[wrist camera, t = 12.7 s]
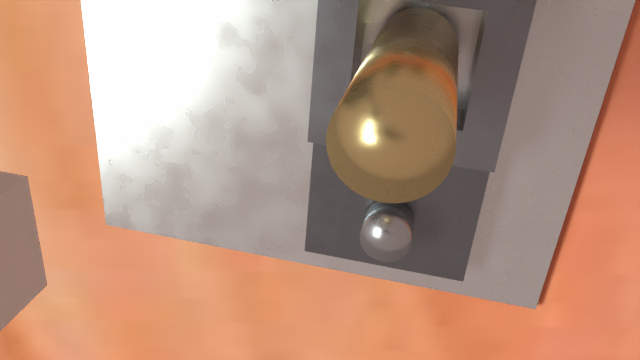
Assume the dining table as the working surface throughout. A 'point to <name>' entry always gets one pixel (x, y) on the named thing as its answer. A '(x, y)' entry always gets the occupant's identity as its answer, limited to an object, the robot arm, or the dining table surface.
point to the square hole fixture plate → (312, 122)
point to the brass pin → (399, 111)
